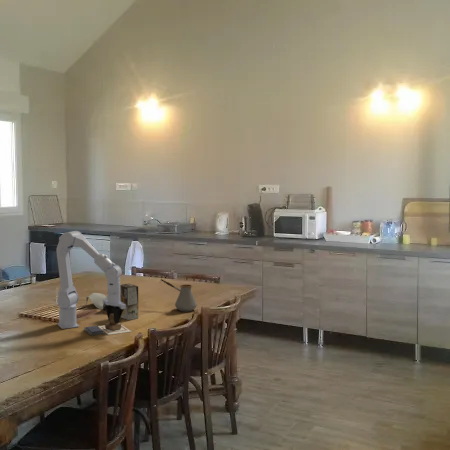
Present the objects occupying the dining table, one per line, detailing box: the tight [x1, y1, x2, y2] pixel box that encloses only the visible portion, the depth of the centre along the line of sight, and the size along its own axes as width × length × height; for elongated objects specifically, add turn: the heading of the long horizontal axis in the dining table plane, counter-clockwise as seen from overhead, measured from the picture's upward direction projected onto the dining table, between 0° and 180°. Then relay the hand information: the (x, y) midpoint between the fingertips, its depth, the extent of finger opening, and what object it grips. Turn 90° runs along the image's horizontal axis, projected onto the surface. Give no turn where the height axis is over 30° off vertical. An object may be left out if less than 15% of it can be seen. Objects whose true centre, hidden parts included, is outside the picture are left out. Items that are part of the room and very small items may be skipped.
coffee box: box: [120, 283, 139, 321], centre depth 272 cm, size 9×6×16 cm
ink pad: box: [83, 325, 105, 337], centre depth 247 cm, size 10×6×2 cm, turn 30°
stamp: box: [104, 314, 122, 331], centre depth 251 cm, size 6×4×7 cm
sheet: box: [97, 322, 132, 336], centre depth 252 cm, size 15×10×1 cm
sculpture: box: [86, 292, 116, 310], centre depth 293 cm, size 25×19×10 cm
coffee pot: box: [159, 278, 198, 312], centre depth 291 cm, size 21×12×15 cm, turn 65°
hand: (114, 321), depth 251 cm, fingers open, 4 cm apart
